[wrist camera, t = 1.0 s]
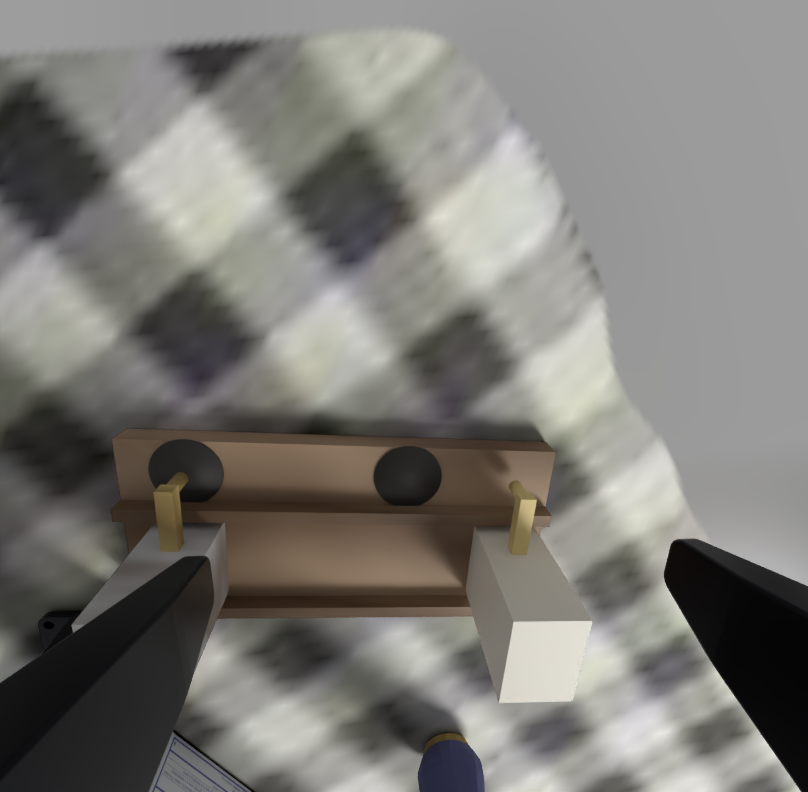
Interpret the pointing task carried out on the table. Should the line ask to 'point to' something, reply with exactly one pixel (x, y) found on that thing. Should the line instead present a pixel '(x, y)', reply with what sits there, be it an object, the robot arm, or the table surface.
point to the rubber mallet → (450, 766)
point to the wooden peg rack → (316, 518)
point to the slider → (525, 610)
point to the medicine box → (191, 772)
